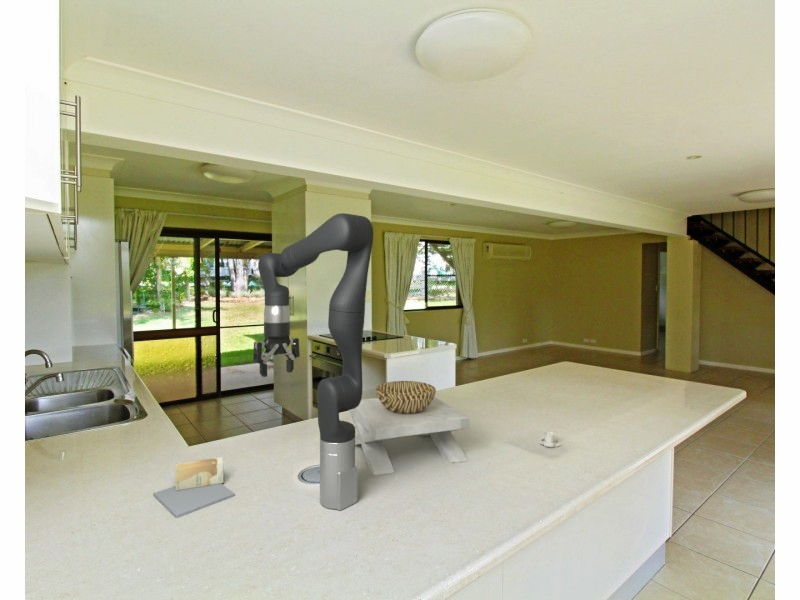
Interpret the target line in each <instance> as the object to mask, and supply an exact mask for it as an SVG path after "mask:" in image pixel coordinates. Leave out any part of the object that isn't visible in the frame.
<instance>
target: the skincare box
mask: <svg viewBox="0 0 800 600" xmlns="http://www.w3.org/2000/svg"><path fill="white" fill-rule="evenodd" d="M224 475H225V474H224V458H223V456H219V457H213V458H212V457H211V458H206V459H204V458H203V459H199V460H191V461H183V462H178V463H176V464H175V486H176V491H178V490H184V489H190V488H196V487H202V486H208V485H214V484H220V483H221V484H223V483H224V481H225V480H224V479H225V478H224Z"/></svg>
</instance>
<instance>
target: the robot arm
mask: <svg viewBox="0 0 800 600" xmlns="http://www.w3.org/2000/svg"><path fill="white" fill-rule="evenodd" d="M373 244H374V229H373V224H372V222H371V220H370V219H369V218H367V217H366V216H363V215H360V214H359V215H358V214H351V213H337V214H334V215H333V216H331V217H329V218H328V219H327V220H326V221H325V222H323V223H322V224H321V225H319V226H318V228H316V229H314V231H312V232H311V233H309V234H308V235H307V236H304V238H302V239H300V240H298V241H296V242H294V243H292V244H290V245H288V246H286V247H285V248H284V249H283V250H282V251H281V252H280V253H279V252H278V253H277V252H264V253H262V255H261V256H260V257H259V259H258V263H257V268H258V273H259V276H260V279H261V283H262V287H263V291H264V310H263V336H264V337H263V338H264V340H263V341H254V342H253V352H252V353H253V356H252V361H253V362H254V363H256V364H259V374H260V376H261V377H262V378H263V377H264V378H267V377H268V364H267V363H268V362H269V360H270V359H271V358H272V357H273V356H277V355H284V356H285V357H286V360H285V361H286V368H285V369H286V372H287V373H289V374H290V373H293V370H294V369H295V368H294V364H295V363H294V361H295V359H297V358H299V357H300V356H301V355H300V339H299V338H297V337H291V338H290V335H291V312H290V311H291V309H290V289H289V287H288V286H286V285H282V284H280V283H279V282H278V279H277V278H287V277H291V276H293V275H295V273H297V272H298V271H299V270H300V269H302V268H304V267H306V266H309V265H311V264H313V263H314V262H315V261H317V259H318V258H319V257H320V255H321V254H323V253H326V252H330V251H341V252H347V254H346V255H347V256H346V257H347V258H346V265H345V269H344V271H343V275H342V277H341V279H340V281H339V283H337V286H336V288H335V289H334V291H333V293H332V295H331V297H330V300H329V304H328V305H329V306H328V307H329V308H328V320H327V321H328V322H327V323H328V324H327V326H328V330H329V333H330V335H331V337H332V339H333V340H334V341H333V342H334V343H335V345H336V346H337V349H338V350H339V352H340V355H341V360H342V374H341V375H338V376H333V377H326V378H323V379H321V380H320V381H319V383H318V385H317V391H316V403H317V404H316V406H317V425H318V429H319V503H320V505H321V506H322V507H324V508H326V509H331V510H337V511H342V510H344V509H346V508H348V507H349V506H351V505H354V504H356V503H357V502H358V470H359V469H358V466H356V445H355V437H356V428H355V425H354V423H351V422H349V421H345V420H341V419H340V413H342V412H346V411H350V410H351V409H354V408H356V407H358V405H359V404H360V402H361V399H363V398H362V397H363V360H362V359H363V341H364V340H363V336H364V328H365V327H364V326H365V317H366V316H365V315H366V313H365V312H366V296H367V294H366V292H367V287H368V286H367V285H368V275H369V267H370V261H371V255H372V249H373ZM290 345H291V346H290ZM290 347H291V349H290ZM264 348H265V349H264ZM263 349H264V350H263ZM262 351H263V352H262Z"/></svg>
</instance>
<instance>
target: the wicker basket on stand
mask: <svg viewBox="0 0 800 600" xmlns="http://www.w3.org/2000/svg"><path fill="white" fill-rule="evenodd" d="M436 390H437V389H436V387H435V386H434V385H431V384H430V383H426V382H421V381H415V380H414V381H413V380H397V381H396V380H395V381H387V382H383V383H381V384H379V385H377V387H376V388H375V394H376V397H374V398H361V402H360V404H359V405H358V407H356V408H354V409H351V410H349V413H350V416H351V418H352V421H353V425H354V426H355V432H356V433H357V436H355V446H358V445H361V449H362V451H363V454H364V458H365V460H366V462H367V466H368V468H369V469H370V472H372V473H373V475H374V476H379V475H385V474H386V475H387V474H391V473H395V469H394V467H393V465H392V462H391V460H390V457H389V455H388V452H387V449H386V447H385V444H384V442H383V441H387V440H390V439H394V438H399V437H400V438H401V437H407V436H417V435H418V436H419V437H424V436H426V437H427V436H431V437H430V438H432V440H433V442H434V444H435V446H436V448H437V450H438V451H439V453H440V456H442V457H443V458H444V459H445V458H446V459H447V460H448V461H447V460H446V459H445V460H446V461H447V462H449V463H450V464H454V463H453V462H455V463H460V461H461V462H467V461H468V458H467V457H466V455H465V453H464V452H463V450H462V447H461V446H460V445H459V442H457V439H456V437H455V436H454V435H453V433H452V432H455V431H459V430H465V429H469V428H470V417H469V416H467V415H465V414H463V413H462V412H460V411H459V410H457V409H455V408H453V407H452V406H450V405H449V404H447V403H445V402H444V401H442V400H440V399H439V398H438V397H436V396H435V395H436V392H437V391H436Z"/></svg>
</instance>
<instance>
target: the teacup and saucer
mask: <svg viewBox="0 0 800 600" xmlns="http://www.w3.org/2000/svg"><path fill="white" fill-rule="evenodd" d="M544 435H545V436H544V439H545V440H546V441H543V444H544V446H543V447H546V448H552V447H554V446H556V445H555V442H553V441H554V440H555V433H554V432H552V431H546V432H544Z"/></svg>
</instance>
